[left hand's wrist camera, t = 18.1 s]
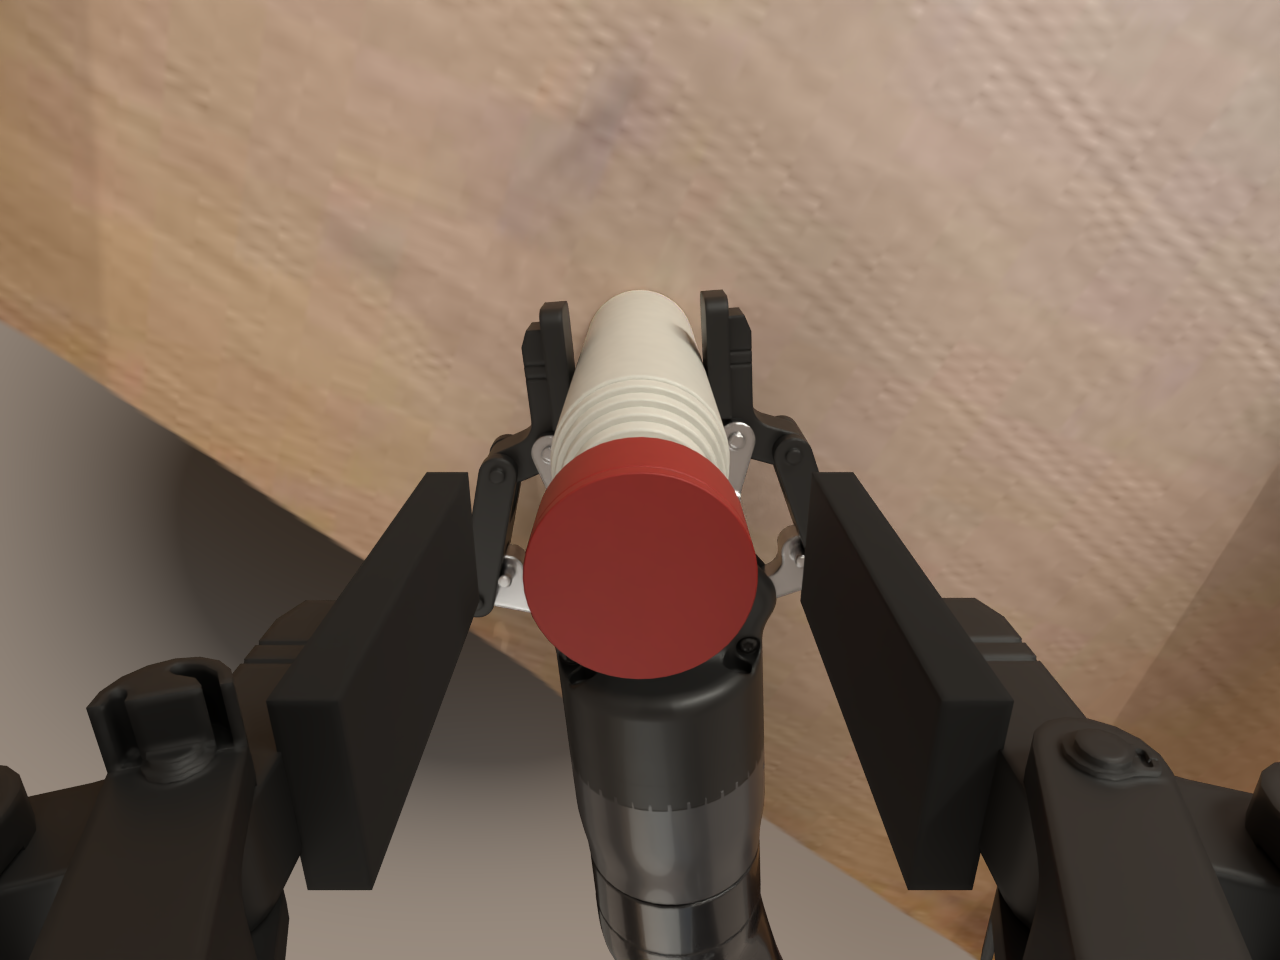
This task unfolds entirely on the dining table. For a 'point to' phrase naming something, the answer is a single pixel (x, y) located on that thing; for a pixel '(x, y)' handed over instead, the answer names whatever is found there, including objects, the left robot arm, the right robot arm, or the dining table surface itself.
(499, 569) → the right robot arm
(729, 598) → the cap
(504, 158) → the dining table surface
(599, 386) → the bottle
